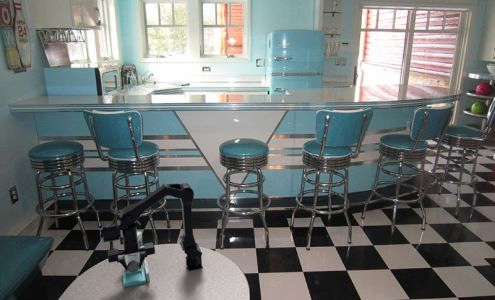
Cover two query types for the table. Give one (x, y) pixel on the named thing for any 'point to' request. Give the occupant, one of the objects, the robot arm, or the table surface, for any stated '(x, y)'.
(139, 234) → the syrup box
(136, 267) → the ball
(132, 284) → the coaster
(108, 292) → the table surface
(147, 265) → the gray flat board
